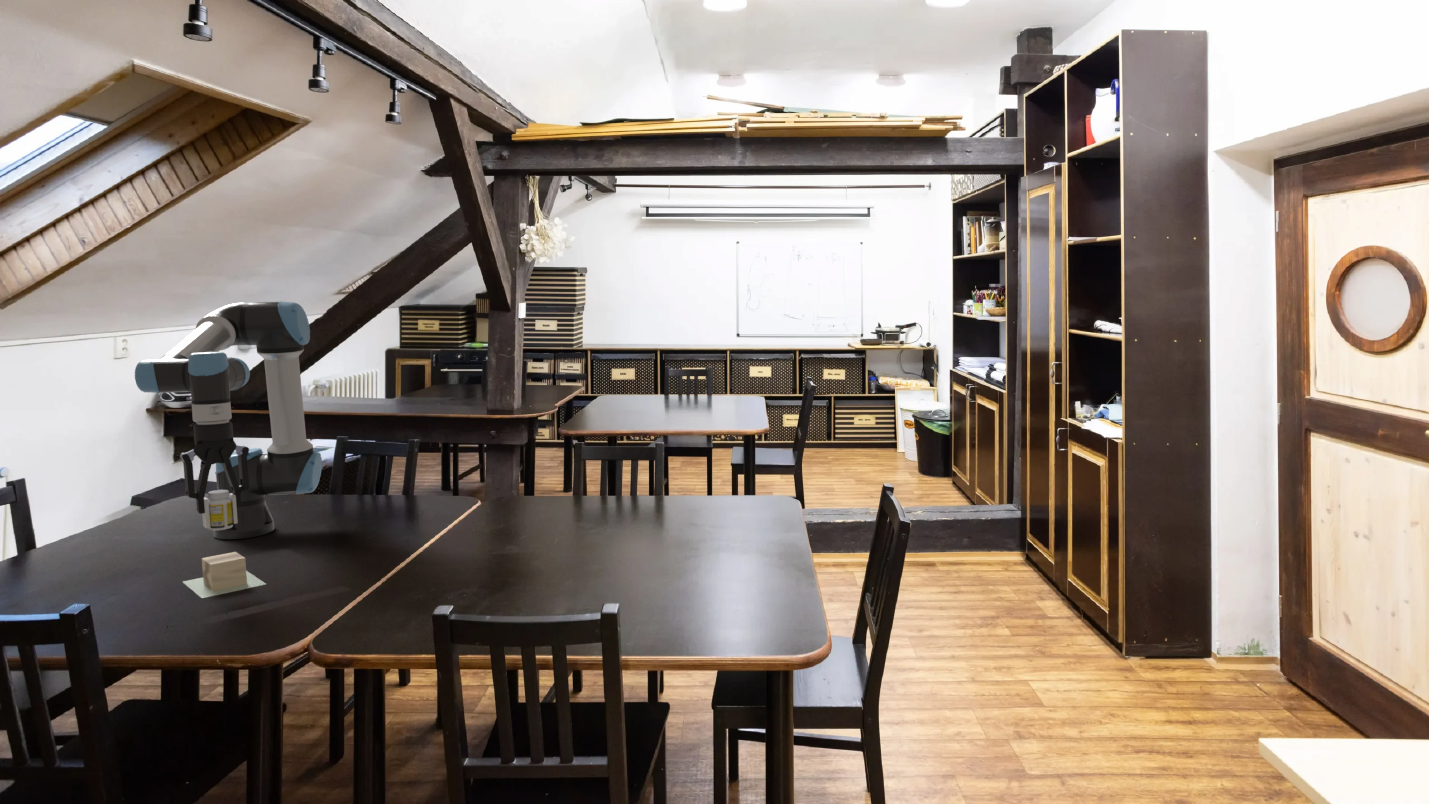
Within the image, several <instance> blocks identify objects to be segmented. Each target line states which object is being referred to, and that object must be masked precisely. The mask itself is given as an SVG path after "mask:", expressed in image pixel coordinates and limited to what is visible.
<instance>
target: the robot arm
mask: <svg viewBox="0 0 1429 804" xmlns="http://www.w3.org/2000/svg"><path fill="white" fill-rule="evenodd" d="M309 323H310V322H309V319H308V316H307V314H306V312H305V310H304V307H302V306H301V305H300V304H299V303H297V302H292V301H282V300H281V301H256V302H255V301H254V302H253V301H251V302H246V301H242V302H235V303H230V304H227V305H224V306H221V307H219V308H217V309H215V310H213V311H211V312H209V313H207V314H206V315H205V316H203V317H202V318H201V319H200V320H198V322H197V323H196V325H195V329H194V330H193V331H192V332H190V333H189V334H188V335H187V336H185V337H184V338H183V339H182V340H180V341H179V342H178V343H177V344H176V345H175V346H173V348H171V349H170V350H169V351H167V352H166V353H165V354H163V355H162V356H161V357H160V358H159V359H153V358H152V359H151V358H150V359H144V360H140V361H139V362H138V363H137V364H136V366H135V370H134V381H135V383H136V386H137V388H138V390H140V391H141V392H143V393H154V394H155V393H156V394H162V393H163V394H164V393H189V392H190V397H191V398H190V399H191V400H190V401H191V411H192V413H191V414H192V415H191V416H192V421H193V422H195V424H194V425H192V427H193V429H192V430H193V440H194V443H193V447H192V449H190V450H189V451H186V452H181V453H179V457H180V460H181V462H182V465H183V475H184V489H185V496H186V497H188V498H190V499H195V501H196V504H195V505H196V512H197V513H198V514H199V515H202V525H203V527H204V528H205V529H209V528H211V527H210V514H209V498H208V497H206V490H207V485H208V480H209V474H210V470H211V468H212V465H215V471H214V473H215V480H216V489H217V490H228V491H229V497H228V498H229V499H231V504H232V519H233V527H232V528H229V529H225V530H212V531H213V538H216V539H219V540H241V539H248V538H256V537H259V536H265V535H266V534H269V533H272V532H273V531H274V530H275V521H274V518H273V516H272V514H271V512H270V510H269V508H268V505H267V502H266V496H278V495H301V494H311V493H313V492H314V491H315V490H316V489H317V487H318V485H319V483H320V478H321V475H322V467H323V463H322V462H323V458H322V455H321V453H320V452H318V451H314V445H313V443H311V442H310V441H309V440H308V439H307V434H306V433H307V432H306V420H305V411H304V403H303V402H304V400H303V389H302V382H301V381H302V380H301V379H302V378H301V377H302V376H301V369H300V367H301V366H300V358H299V357H300V355H301V354H302V353H303V352H304V351H305V348H304V346H305V345H308V343H309V342H310V340H311V329H310V324H309ZM233 346H234V347H235V346H255V347H256V353H257V354H258V355H259V356H261V357H262V359H263V363H264V370H265V372H264V373H265V382H266V392H267V402H268V411H269V418H270V419H269V420H270V422H269V423H270V431H271V432H270V433H271V438H272V442H271V444H270V445H269V446H268V448H266V451H267V453H264V451H263V450H262V448H260V447H259V448H255V447H254V448H250V447H248V446H245V445H237V443H236V442H235V440H234V430H233V429H234V427H233V423H232V422H231V421H230V420H232V417H233V416H232V406H231V403H232V401H231V391H237V390H239V389H240V388H243V387H244V386H245V385H246V384H247V383H248V382H249V380H250V378H251V377H250V376H251V372H250V368H249V366H248V364H247V363H246V362H245V361H244V360H242V359H240V358H237V357H228V355H227V354H226V353H225V352H223V351H225V350H227V349H229V348H230V347H233ZM195 456H196V457H197V458H198V459H199V460H200V467H199V468H200V469H199V470H200V471H199V473H198V474H199V475H198V479H197V484H196V490H195V479H194V478H195V477H194V467H193V466H194V465H193V461H194V459H195V458H194V457H195Z"/></svg>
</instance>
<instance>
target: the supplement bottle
mask: <svg viewBox="0 0 1429 804" xmlns="http://www.w3.org/2000/svg"><path fill="white" fill-rule="evenodd" d="M207 495H208V496H207V499H208V501H209V514H210V527H211V528H208V530H209V531H213V530H225V529H229V528H232V527H233V519H232V504H231V499H229V498H228V497H229V491H228V490H211V491H208V494H207Z"/></svg>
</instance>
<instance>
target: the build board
mask: <svg viewBox="0 0 1429 804" xmlns="http://www.w3.org/2000/svg"><path fill="white" fill-rule="evenodd" d="M246 575H247V584H243V585H239V586H234V587H230V588H225V589H220V590H216V591H212V590H211V589H209V588H208V587H207V586H206V585H204V582H203V576H202V577H197V578H193V579H189V580H183V581H182V584H183V585H185V586H186V587H187V588H188V589H190V590H191V591H192V592H194V594H195V595H197V596H198V597H199V598H201V599H206V598H211V597H216V596H219V595H223V594H224V595H225V594H228V593H233V592H237V591H243V590H245V589H251V588H256V587H261V586H265V585H267V583H265V582H264V581H263V580H261V579H260V578H258V577H256V575H254V574H253V573H250V572H249V571H248V570H246Z"/></svg>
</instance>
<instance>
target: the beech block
mask: <svg viewBox="0 0 1429 804" xmlns="http://www.w3.org/2000/svg"><path fill="white" fill-rule="evenodd" d="M201 567H202V577H203V582H204V585H206V586H207V587H208V588H209V589H211V590H212V591H216V590H220V589H225V588H230V587H234V586H239V585H243V584H247V575H246V571H247V564H246V557H244V556H243V555H242V554H240V553H238V552H237V551H233V552H228V553H227V552H225V553H222V554H216V555H211V556H206V557H201Z"/></svg>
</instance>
